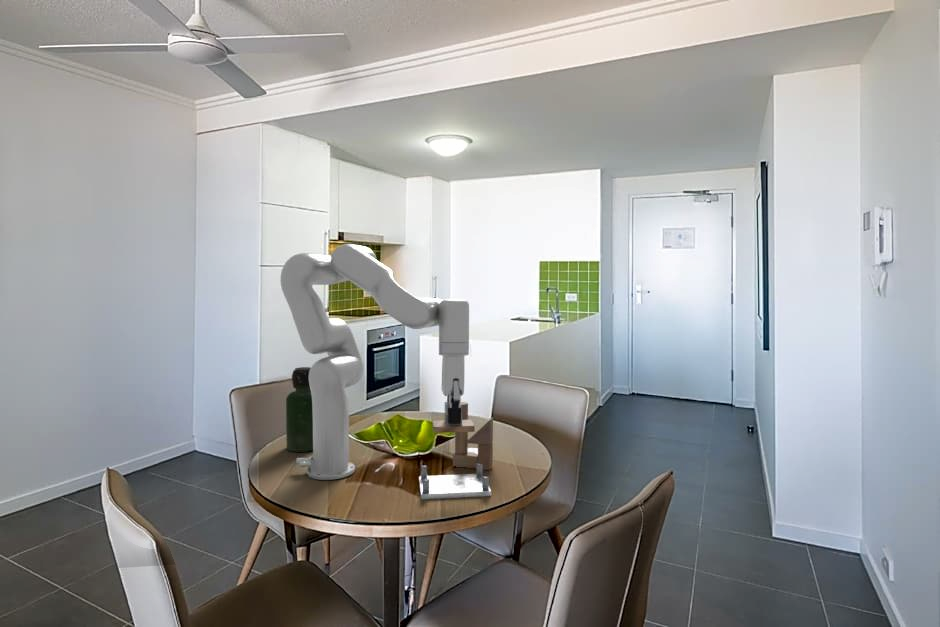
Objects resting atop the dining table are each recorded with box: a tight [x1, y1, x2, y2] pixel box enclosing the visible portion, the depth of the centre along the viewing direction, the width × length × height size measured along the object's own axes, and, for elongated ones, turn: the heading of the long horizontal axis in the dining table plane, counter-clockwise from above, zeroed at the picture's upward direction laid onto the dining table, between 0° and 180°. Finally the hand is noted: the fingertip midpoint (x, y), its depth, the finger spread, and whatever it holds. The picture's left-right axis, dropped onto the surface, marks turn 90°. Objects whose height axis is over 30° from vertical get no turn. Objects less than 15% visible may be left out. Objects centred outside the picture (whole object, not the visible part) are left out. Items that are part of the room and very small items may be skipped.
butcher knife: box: [468, 447, 478, 454], centre depth 157 cm, size 5×15×1 cm, turn 177°
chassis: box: [418, 463, 492, 500], centre depth 133 cm, size 17×12×4 cm
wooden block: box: [452, 401, 494, 471], centre depth 149 cm, size 4×11×18 cm, turn 75°
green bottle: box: [285, 366, 313, 453], centre depth 165 cm, size 10×10×25 cm
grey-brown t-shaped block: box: [431, 401, 476, 434], centre depth 132 cm, size 10×6×6 cm, turn 98°
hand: (453, 420), depth 133 cm, fingers closed on grey-brown t-shaped block, 4 cm apart
